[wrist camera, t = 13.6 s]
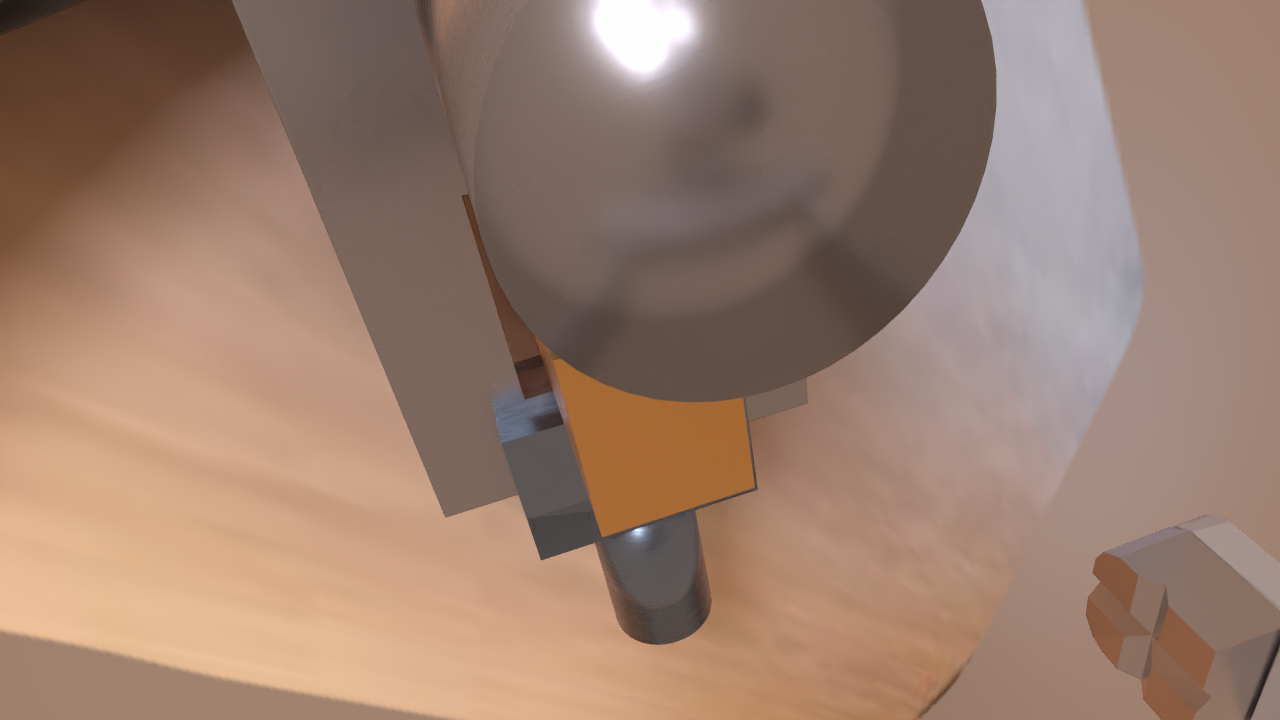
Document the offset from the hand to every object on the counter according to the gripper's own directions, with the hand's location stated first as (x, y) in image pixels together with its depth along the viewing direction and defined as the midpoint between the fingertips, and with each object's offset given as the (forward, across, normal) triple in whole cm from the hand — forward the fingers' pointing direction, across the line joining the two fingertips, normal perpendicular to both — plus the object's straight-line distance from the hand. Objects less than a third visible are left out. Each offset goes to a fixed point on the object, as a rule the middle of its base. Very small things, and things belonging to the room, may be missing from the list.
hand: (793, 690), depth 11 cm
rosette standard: (+18, 0, +1) cm, 18 cm away
